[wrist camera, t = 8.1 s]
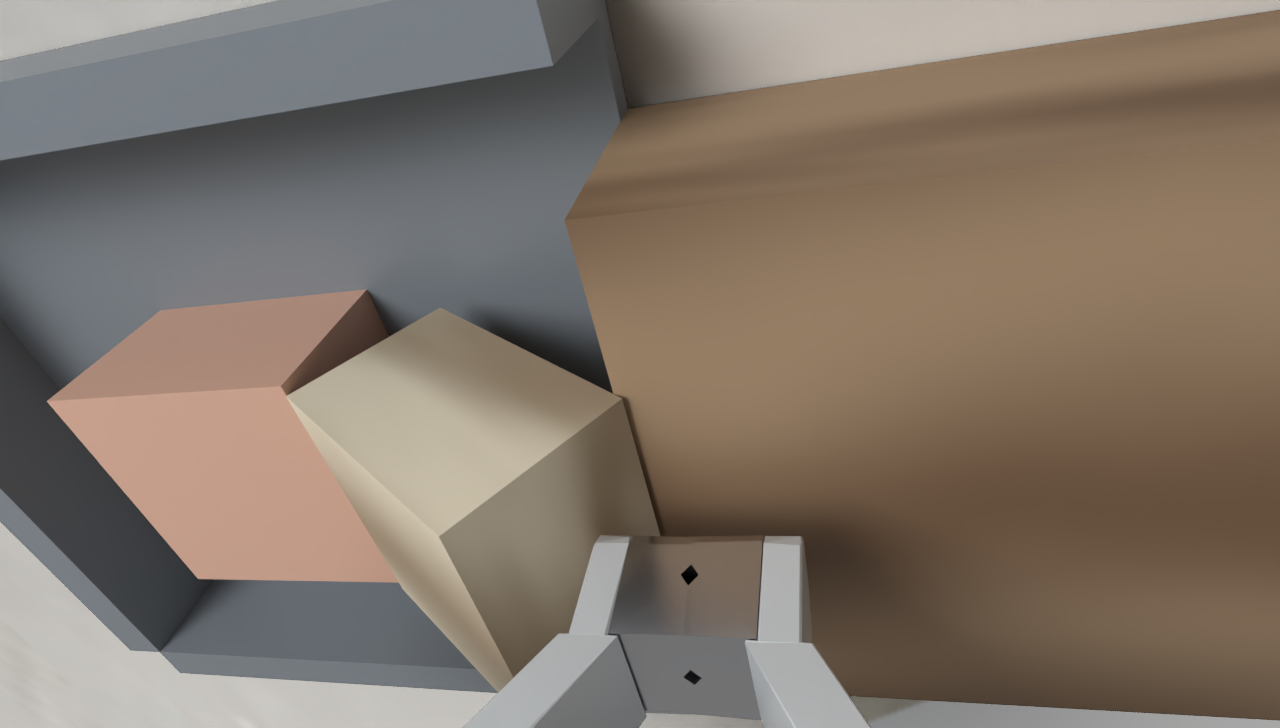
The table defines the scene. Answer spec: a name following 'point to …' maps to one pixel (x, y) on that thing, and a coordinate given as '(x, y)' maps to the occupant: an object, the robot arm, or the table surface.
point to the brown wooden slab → (974, 359)
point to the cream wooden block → (479, 479)
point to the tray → (282, 262)
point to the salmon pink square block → (231, 435)
